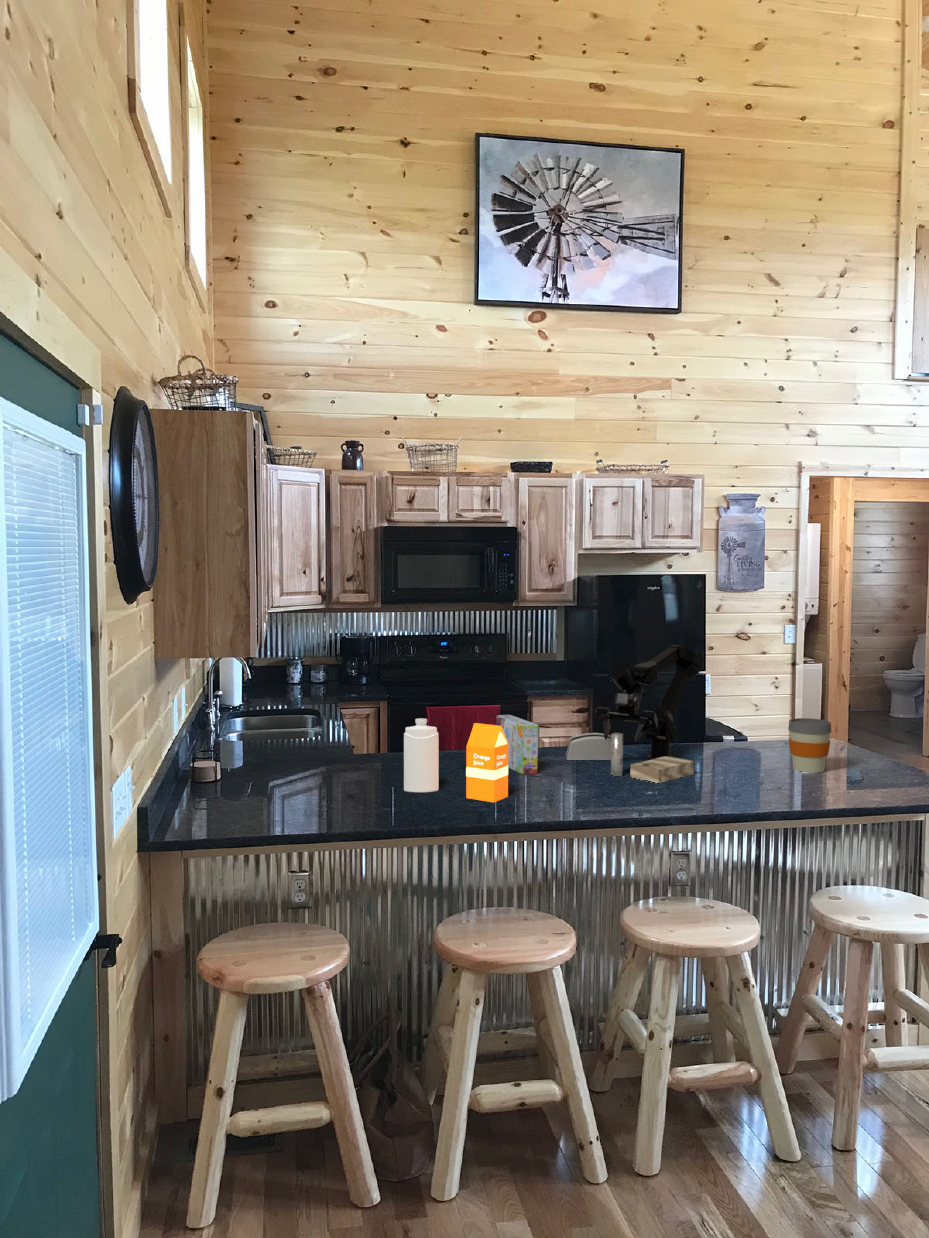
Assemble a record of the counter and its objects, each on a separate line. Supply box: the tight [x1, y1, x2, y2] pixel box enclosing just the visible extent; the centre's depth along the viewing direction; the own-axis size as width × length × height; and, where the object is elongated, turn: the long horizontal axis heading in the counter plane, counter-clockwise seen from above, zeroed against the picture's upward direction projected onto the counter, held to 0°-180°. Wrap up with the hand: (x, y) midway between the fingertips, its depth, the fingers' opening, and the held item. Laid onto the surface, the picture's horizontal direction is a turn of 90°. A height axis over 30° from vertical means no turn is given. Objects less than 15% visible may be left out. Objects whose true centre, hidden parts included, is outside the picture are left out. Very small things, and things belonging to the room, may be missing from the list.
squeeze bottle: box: [403, 717, 440, 793], centre depth 274 cm, size 10×20×5 cm
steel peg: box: [610, 732, 624, 777], centre depth 294 cm, size 4×4×12 cm
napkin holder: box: [565, 732, 611, 761], centre depth 316 cm, size 17×5×10 cm, turn 93°
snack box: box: [495, 714, 540, 776], centre depth 304 cm, size 21×6×15 cm, turn 22°
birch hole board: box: [629, 756, 695, 784], centre depth 293 cm, size 18×10×4 cm, turn 134°
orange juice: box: [465, 722, 509, 803], centre depth 267 cm, size 8×9×20 cm
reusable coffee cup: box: [787, 717, 832, 774], centre depth 302 cm, size 13×13×15 cm
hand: (619, 740), depth 297 cm, fingers open, 9 cm apart
